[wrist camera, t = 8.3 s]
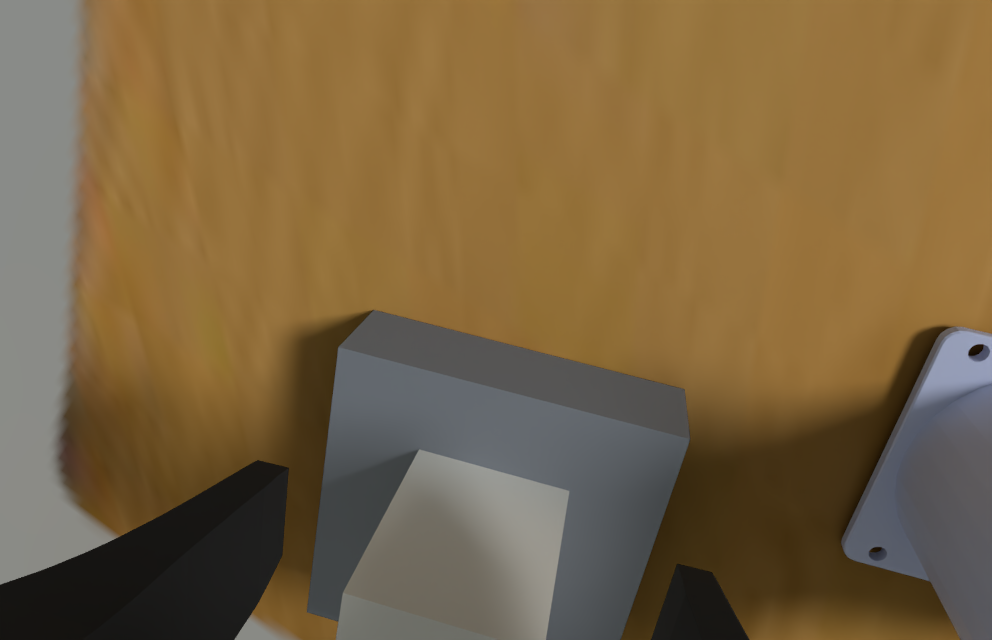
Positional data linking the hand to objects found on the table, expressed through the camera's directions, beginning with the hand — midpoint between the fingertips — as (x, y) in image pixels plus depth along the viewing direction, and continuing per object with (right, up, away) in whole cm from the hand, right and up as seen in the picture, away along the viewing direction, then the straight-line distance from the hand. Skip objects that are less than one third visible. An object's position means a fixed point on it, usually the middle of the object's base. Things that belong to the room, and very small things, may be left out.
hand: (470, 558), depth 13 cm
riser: (0, -1, +12) cm, 12 cm away
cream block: (0, -2, +9) cm, 9 cm away
